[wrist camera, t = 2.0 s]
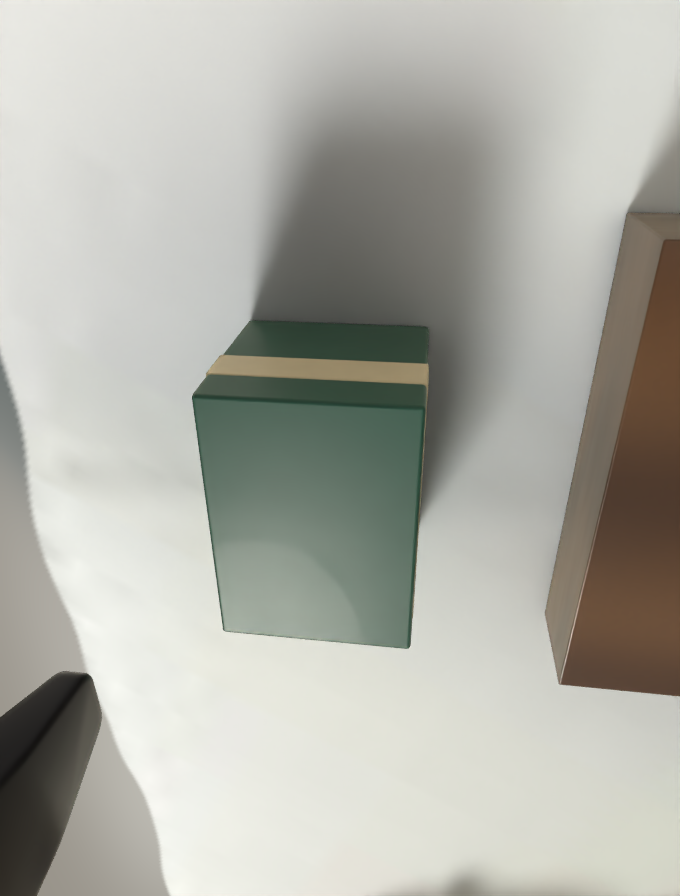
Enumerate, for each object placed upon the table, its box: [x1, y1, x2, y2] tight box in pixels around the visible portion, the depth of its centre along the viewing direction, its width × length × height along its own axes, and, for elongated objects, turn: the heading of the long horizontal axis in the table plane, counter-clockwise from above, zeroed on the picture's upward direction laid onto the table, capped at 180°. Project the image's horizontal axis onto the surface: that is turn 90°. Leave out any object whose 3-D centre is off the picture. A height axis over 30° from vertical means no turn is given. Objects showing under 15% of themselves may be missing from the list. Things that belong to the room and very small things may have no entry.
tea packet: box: [192, 320, 429, 649], centre depth 17 cm, size 7×5×5 cm
